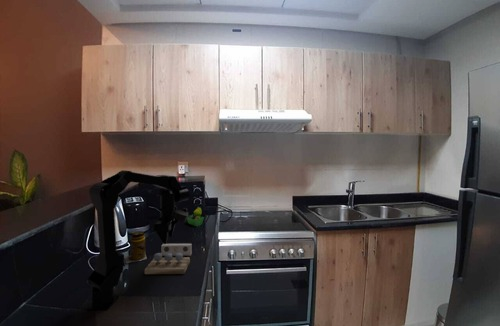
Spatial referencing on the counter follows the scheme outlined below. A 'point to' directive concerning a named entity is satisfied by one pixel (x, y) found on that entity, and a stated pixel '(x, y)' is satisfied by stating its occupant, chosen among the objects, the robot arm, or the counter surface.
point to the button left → (158, 257)
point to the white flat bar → (176, 249)
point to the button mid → (168, 257)
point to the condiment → (137, 247)
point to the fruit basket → (196, 218)
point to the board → (168, 266)
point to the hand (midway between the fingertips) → (167, 240)
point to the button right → (179, 257)
